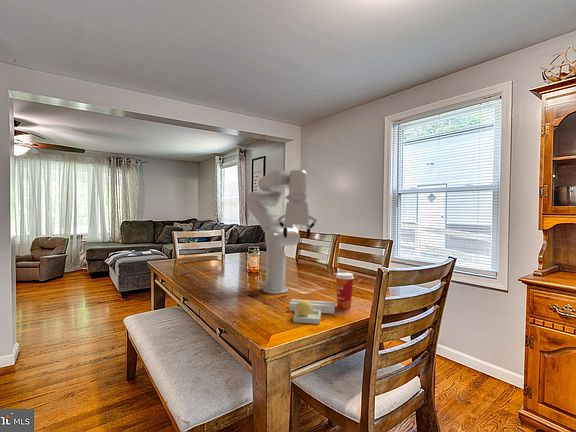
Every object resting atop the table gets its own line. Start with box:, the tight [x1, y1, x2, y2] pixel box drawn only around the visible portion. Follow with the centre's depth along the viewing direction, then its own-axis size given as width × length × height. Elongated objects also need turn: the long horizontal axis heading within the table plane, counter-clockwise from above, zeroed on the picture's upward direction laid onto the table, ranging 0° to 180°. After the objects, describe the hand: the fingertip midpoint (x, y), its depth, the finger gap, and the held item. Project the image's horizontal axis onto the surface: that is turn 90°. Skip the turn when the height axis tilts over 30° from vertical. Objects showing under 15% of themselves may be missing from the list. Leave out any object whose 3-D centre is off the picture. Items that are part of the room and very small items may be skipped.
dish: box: [292, 310, 322, 325], centre depth 113 cm, size 10×10×2 cm
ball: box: [296, 299, 312, 317], centre depth 113 cm, size 6×6×6 cm
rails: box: [288, 298, 336, 315], centre depth 122 cm, size 18×5×3 cm, turn 81°
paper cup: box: [335, 272, 355, 310], centre depth 126 cm, size 8×8×14 cm
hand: (296, 237), depth 131 cm, fingers open, 9 cm apart
